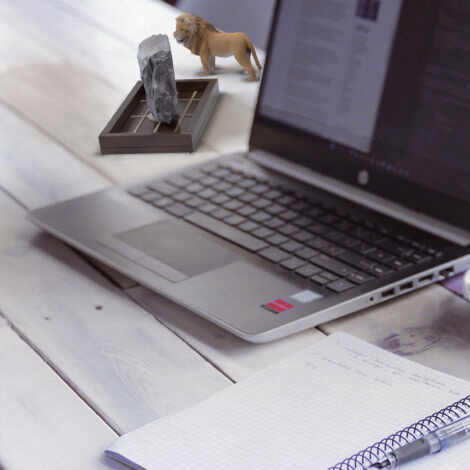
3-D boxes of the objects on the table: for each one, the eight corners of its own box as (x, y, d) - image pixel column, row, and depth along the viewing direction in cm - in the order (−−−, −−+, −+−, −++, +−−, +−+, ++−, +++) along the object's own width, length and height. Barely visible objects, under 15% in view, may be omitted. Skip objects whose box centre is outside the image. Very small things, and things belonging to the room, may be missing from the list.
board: (101, 157, 113) (97, 136, 111) (140, 99, 131) (137, 80, 130) (193, 155, 112) (191, 134, 111) (219, 97, 131) (217, 78, 130)
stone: (146, 97, 127) (136, 23, 123) (181, 94, 128) (172, 21, 123) (143, 138, 114) (131, 57, 109) (181, 134, 114) (171, 53, 110)
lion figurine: (172, 78, 139) (165, 17, 135) (189, 68, 143) (182, 8, 139) (265, 85, 135) (260, 22, 131) (279, 74, 139) (275, 12, 135)
